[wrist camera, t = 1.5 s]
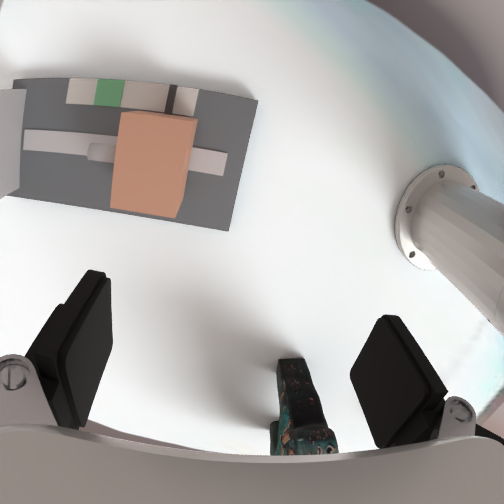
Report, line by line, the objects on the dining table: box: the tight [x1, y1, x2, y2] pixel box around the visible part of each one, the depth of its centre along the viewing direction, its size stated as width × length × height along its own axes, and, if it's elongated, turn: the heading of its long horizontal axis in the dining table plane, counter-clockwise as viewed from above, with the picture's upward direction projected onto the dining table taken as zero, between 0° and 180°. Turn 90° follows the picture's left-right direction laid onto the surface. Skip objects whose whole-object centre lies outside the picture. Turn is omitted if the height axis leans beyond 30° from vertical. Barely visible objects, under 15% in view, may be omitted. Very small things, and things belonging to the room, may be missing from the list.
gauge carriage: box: [87, 85, 198, 218], centre depth 22 cm, size 8×10×5 cm
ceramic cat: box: [270, 358, 339, 456], centre depth 34 cm, size 20×6×20 cm, turn 177°
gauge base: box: [0, 78, 258, 231], centre depth 22 cm, size 24×12×10 cm, turn 77°
